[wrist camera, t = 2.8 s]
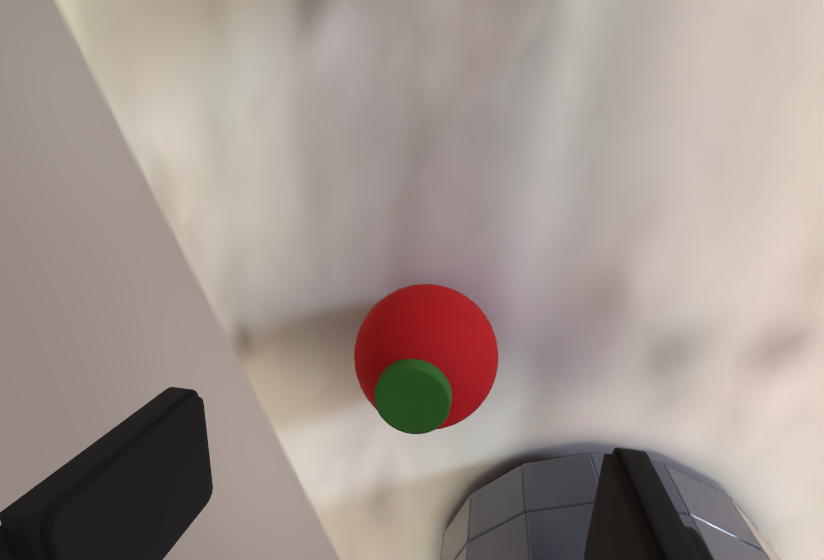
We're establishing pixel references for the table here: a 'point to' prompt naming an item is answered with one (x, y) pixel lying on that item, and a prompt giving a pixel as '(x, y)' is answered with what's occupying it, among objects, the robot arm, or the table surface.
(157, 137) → the table surface
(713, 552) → the bowl
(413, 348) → the strawberry
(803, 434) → the table surface
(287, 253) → the table surface
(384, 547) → the table surface
